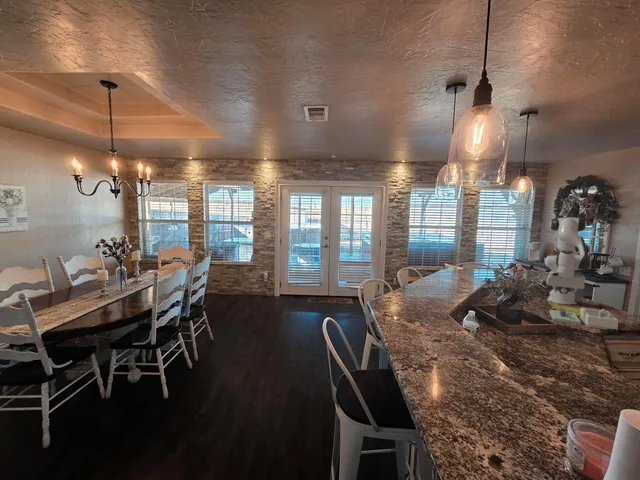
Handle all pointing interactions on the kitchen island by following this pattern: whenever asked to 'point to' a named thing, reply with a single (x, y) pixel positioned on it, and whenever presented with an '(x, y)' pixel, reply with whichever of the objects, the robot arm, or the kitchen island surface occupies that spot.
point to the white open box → (598, 319)
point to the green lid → (564, 316)
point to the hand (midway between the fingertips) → (564, 293)
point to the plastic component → (565, 308)
